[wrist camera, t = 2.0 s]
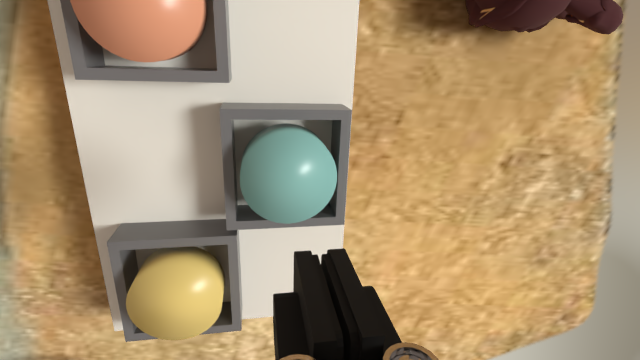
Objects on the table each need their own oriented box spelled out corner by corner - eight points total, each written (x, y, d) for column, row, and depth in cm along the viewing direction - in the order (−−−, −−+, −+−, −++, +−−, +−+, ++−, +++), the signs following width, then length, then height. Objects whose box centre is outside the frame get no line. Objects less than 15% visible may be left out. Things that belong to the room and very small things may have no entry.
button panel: (59, -72, 20) (-6, -112, 15) (350, -46, 23) (377, -73, 18) (127, 303, 29) (101, 358, 24) (331, 287, 32) (345, 332, 27)
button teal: (239, 123, 21) (237, 132, 19) (331, 123, 22) (339, 131, 20) (242, 208, 23) (241, 225, 21) (327, 205, 24) (334, 221, 22)
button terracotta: (80, -66, 17) (54, -83, 15) (203, -55, 18) (196, -70, 16) (101, 58, 19) (80, 60, 17) (211, 62, 20) (205, 64, 18)
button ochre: (132, 247, 23) (119, 268, 20) (222, 242, 24) (219, 262, 21) (144, 317, 25) (133, 344, 22) (227, 310, 26) (224, 335, 23)
